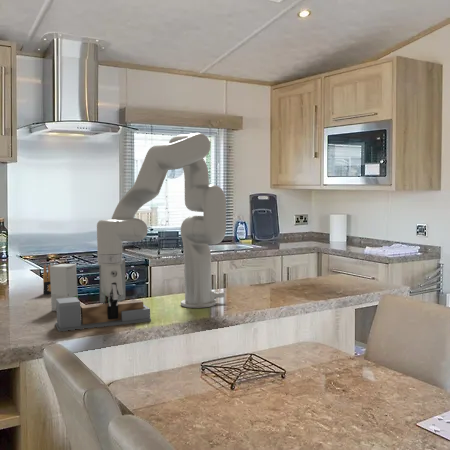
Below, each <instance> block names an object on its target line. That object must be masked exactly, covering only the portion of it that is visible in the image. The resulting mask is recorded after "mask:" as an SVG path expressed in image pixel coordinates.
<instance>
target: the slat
mask: <svg viewBox="0 0 450 450" xmlns="http://www.w3.org/2000/svg"><path fill="white" fill-rule="evenodd" d="M143 304H144V301H143V300H141V299H138V300H137V299H135V300H126V301H125V300H123V301H120V302H118V319H108V311H107V306H108V303H97V304H96V303H95V304H86V305H80V312H81V322H82V324H90V323H99V322H108V321H117V320H121V311H127V310H136V309H143Z"/></svg>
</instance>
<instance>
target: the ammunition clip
mask: <svg viewBox="0 0 450 450" xmlns="http://www.w3.org/2000/svg"><path fill="white" fill-rule="evenodd" d="M59 264H60V263H58V264H57V265H59ZM66 264H69V262H67V263H66ZM54 265H56V264H55V263H53V265H52V266H54ZM47 266H48V267H47ZM50 266H51V264H48V265H46V264H44V265H43V274H42V278H43V279H42V283H43V285H42V286H43V288H42V289H43V293H42V294H43V295H45V296H46V295H51V281H50Z"/></svg>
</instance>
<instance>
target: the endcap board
mask: <svg viewBox="0 0 450 450" xmlns="http://www.w3.org/2000/svg"><path fill="white" fill-rule="evenodd" d="M80 306H81V301H80V300H79V298H78V299H77V297H71V298H61V299H56V308H57V311H56V322H54V325H56V326H55V327H56V329H57V332H59V333H61V332H60V331H63V332H69V331H68V330H71V331H76V330H75V329H80V330H84V329H83V328H88V329H95V328H94V327H97V328H104V326H105V327H113V326H122V325H129V324H137V323H138V324H139V323H145V322H146V323H147V322H152V319H151V318H152V317H151V308H150V307H148V306H147V305H146V304H144V303H143V309H136V310H127V311H121V320H117V321H108V322H99V323H90V324H82V322H81V308H80Z"/></svg>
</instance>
